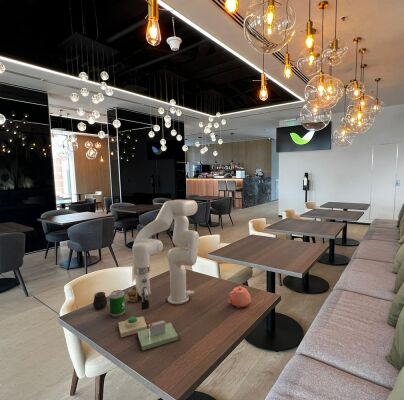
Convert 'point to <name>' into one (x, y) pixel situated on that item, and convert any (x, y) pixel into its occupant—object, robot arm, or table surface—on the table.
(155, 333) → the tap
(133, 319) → the button
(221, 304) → the table surface
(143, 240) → the robot arm
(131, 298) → the chocolate bunny
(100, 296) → the mate gourd
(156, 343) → the panel
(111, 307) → the soda can
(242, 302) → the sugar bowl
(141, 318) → the button box
